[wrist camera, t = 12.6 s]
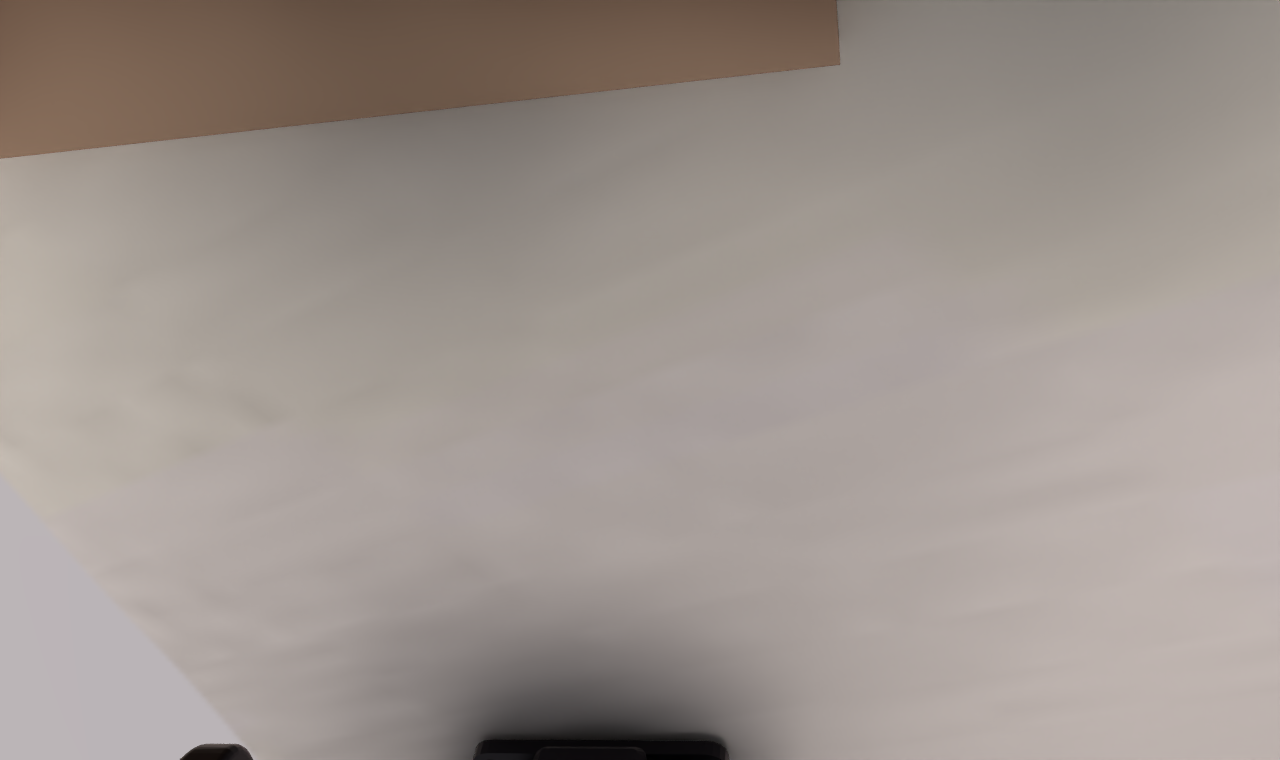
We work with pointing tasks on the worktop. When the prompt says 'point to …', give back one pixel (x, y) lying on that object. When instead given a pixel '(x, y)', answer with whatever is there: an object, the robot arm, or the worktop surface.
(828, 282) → the worktop surface
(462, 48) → the dock
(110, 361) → the worktop surface
